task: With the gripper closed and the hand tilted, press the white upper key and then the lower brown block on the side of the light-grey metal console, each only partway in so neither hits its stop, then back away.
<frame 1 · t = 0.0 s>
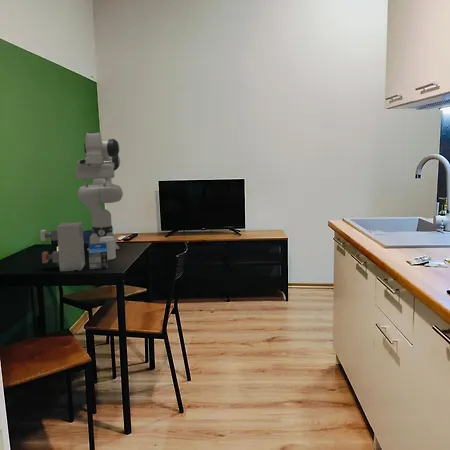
hand: (95, 186, 252), 39 cm above the table, tool pointing down, fingers open, 8 cm apart
console: (72, 267, 233), on the table
brown block: (49, 257, 230), point 6 cm above the table, slide at 0.0 cm
beverage can: (108, 259, 252), on the table
white key: (47, 235, 229), point 17 cm above the table, slide at 0.0 cm
label tape box: (98, 268, 231), on the table
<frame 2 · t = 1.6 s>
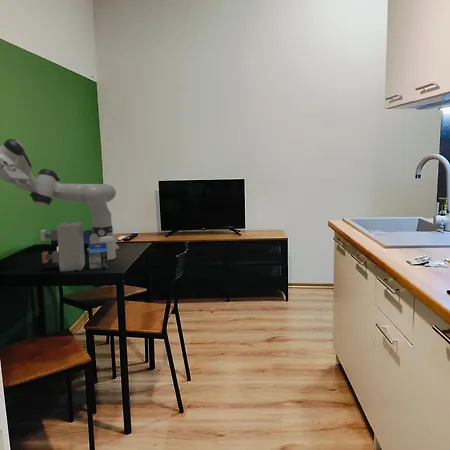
hand: (25, 187, 230), 40 cm above the table, tool tilted 45°, fingers open, 8 cm apart
nothing on the table moved.
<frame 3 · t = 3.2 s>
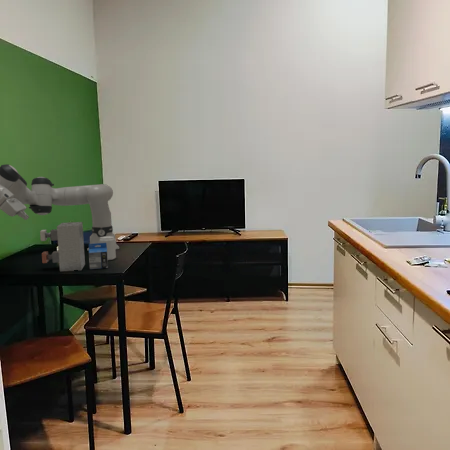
hand: (27, 218, 226), 26 cm above the table, tool tilted 45°, fingers closed
nothing on the table moved.
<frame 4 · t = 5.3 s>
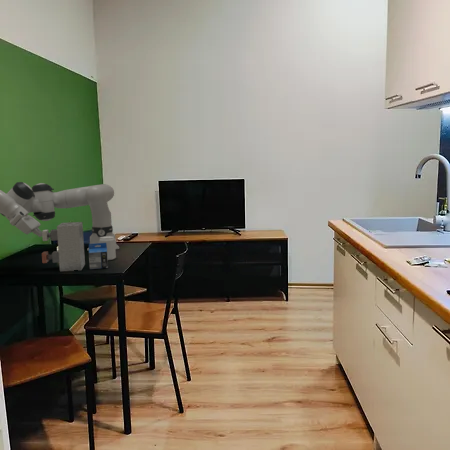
hand: (42, 235, 228), 17 cm above the table, tool tilted 45°, fingers closed, pressing on white key
white key: (49, 235, 229), point 17 cm above the table, slide at 0.9 cm, touching gripper
everything else where it was.
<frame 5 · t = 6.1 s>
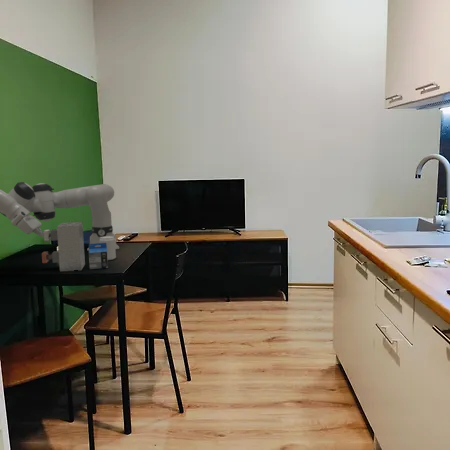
hand: (43, 235, 228), 17 cm above the table, tool tilted 45°, fingers closed
white key: (50, 235, 229), point 17 cm above the table, slide at 1.7 cm
everything else where it was.
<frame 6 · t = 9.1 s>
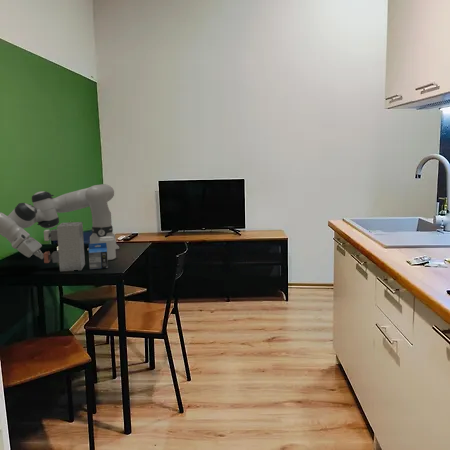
hand: (43, 257, 230), 6 cm above the table, tool tilted 45°, fingers closed, pressing on brown block
brown block: (50, 257, 230), point 6 cm above the table, slide at 0.9 cm, touching gripper
everything else where it was.
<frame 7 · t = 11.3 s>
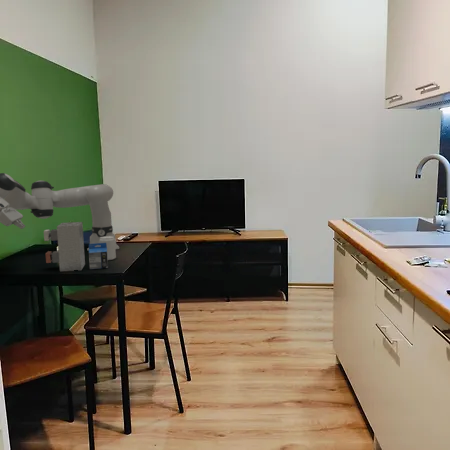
hand: (23, 227, 227), 21 cm above the table, tool tilted 45°, fingers closed
brown block: (52, 256, 230), point 6 cm above the table, slide at 1.8 cm
everything else where it was.
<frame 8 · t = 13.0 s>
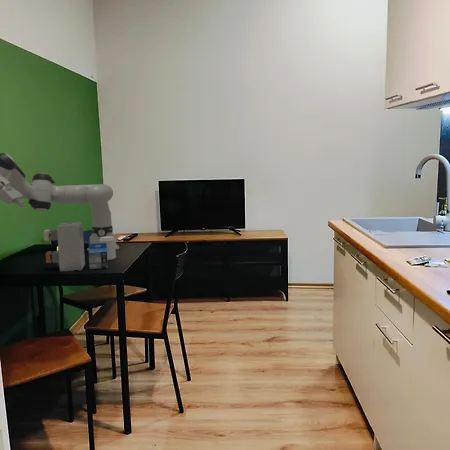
hand: (23, 206, 227), 31 cm above the table, tool tilted 45°, fingers closed
nothing on the table moved.
at the end: white key slide at 1.7 cm; brown block slide at 1.8 cm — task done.
